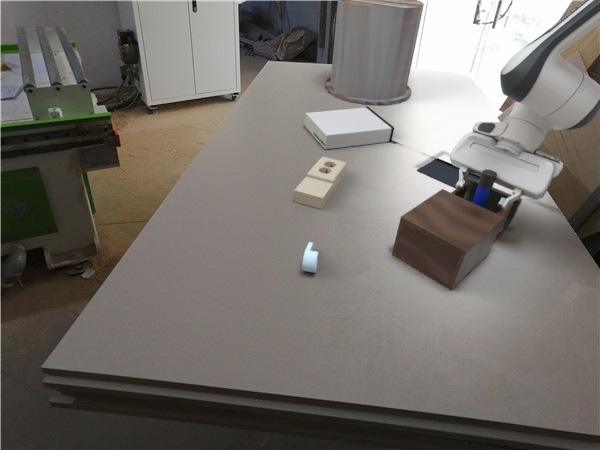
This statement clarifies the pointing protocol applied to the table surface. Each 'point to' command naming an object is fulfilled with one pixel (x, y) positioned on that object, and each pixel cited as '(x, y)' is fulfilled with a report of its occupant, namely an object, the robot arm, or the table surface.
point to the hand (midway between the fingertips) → (479, 197)
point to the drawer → (491, 201)
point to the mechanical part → (310, 259)
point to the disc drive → (348, 127)
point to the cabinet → (446, 237)
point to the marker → (484, 187)
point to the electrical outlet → (320, 182)
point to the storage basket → (374, 50)
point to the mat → (444, 172)
